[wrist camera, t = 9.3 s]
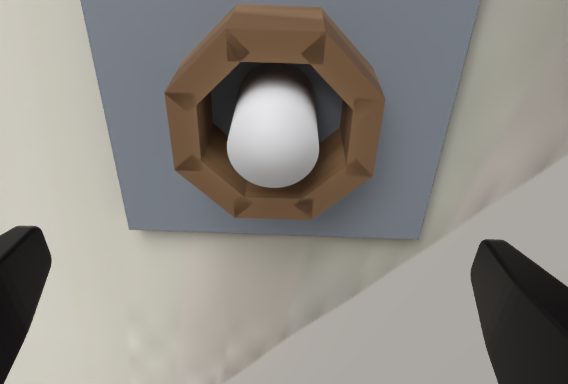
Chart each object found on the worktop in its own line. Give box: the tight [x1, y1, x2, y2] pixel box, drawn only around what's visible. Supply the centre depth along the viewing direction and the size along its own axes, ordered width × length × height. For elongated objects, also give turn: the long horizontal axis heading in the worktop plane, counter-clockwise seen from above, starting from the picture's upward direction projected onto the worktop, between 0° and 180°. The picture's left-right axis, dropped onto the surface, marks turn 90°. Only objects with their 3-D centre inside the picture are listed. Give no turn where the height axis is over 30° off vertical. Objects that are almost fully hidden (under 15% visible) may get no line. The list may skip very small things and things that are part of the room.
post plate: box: [81, 0, 480, 239], centre depth 17 cm, size 14×14×5 cm
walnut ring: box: [164, 4, 385, 220], centre depth 17 cm, size 7×7×3 cm
